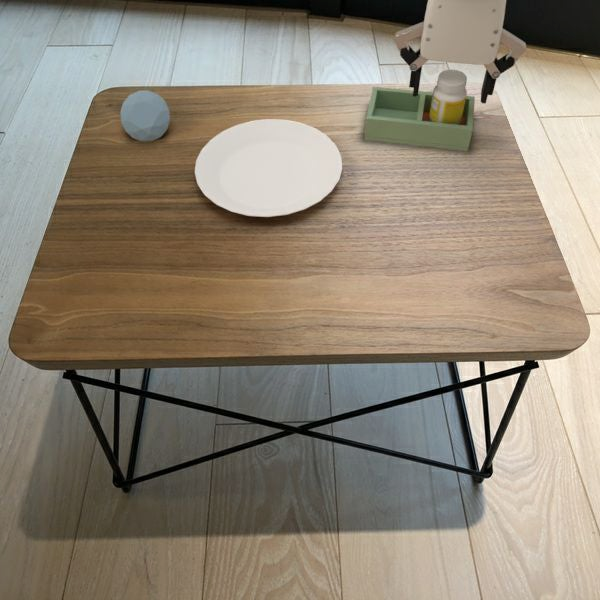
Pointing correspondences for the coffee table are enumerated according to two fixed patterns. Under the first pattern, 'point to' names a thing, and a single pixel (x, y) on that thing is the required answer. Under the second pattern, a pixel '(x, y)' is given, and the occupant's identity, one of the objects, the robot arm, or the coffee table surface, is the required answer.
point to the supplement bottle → (448, 98)
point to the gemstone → (145, 115)
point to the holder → (414, 120)
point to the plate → (268, 167)
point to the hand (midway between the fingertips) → (449, 94)
